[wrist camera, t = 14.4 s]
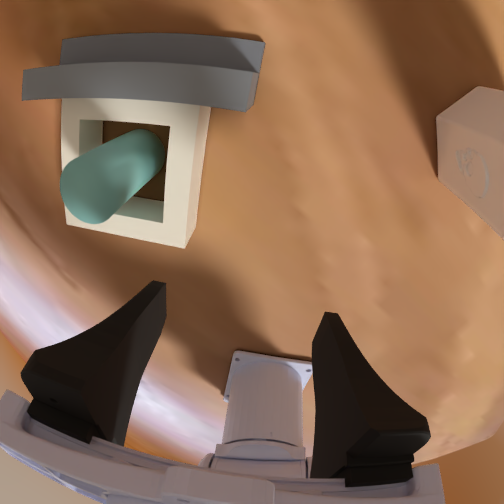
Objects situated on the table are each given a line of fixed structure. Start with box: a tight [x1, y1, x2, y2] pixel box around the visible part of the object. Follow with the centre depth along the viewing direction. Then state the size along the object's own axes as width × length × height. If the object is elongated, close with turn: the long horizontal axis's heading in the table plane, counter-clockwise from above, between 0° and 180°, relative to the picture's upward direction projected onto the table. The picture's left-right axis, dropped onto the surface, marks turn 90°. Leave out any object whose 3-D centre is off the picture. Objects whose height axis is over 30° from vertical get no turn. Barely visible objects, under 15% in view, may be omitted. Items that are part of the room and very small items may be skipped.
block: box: [61, 98, 211, 249], centre depth 18 cm, size 9×9×3 cm
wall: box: [22, 33, 265, 112], centre depth 14 cm, size 4×14×4 cm, turn 80°
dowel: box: [60, 129, 165, 224], centre depth 17 cm, size 4×4×7 cm
